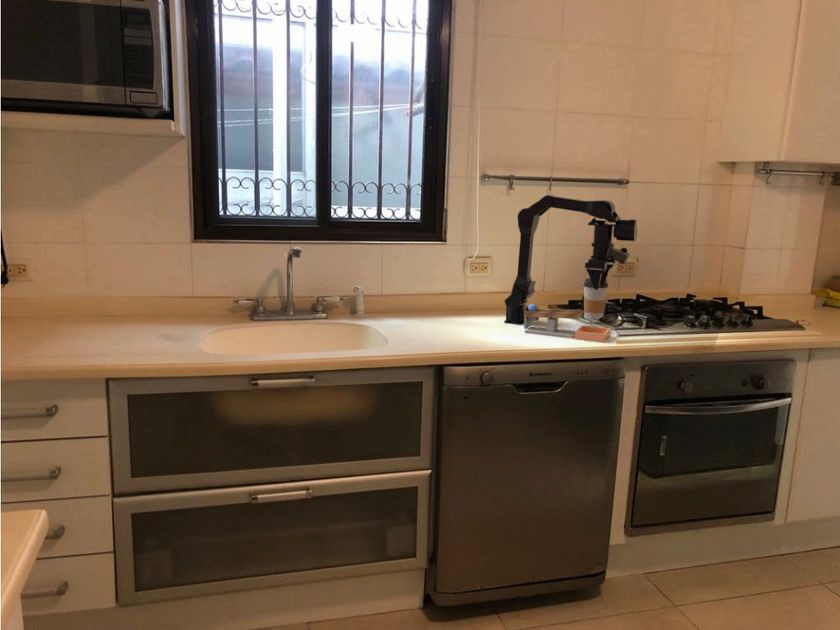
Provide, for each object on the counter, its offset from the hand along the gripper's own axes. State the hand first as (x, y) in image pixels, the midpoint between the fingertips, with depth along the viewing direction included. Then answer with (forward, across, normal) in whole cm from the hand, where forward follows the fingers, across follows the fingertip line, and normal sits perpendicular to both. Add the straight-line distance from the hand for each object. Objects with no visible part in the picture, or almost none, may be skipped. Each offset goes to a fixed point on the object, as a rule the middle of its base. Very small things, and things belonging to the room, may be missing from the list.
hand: (599, 287), depth 215 cm
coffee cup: (+15, +14, +4) cm, 21 cm away
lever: (+11, -8, +12) cm, 18 cm away
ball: (+7, -10, +19) cm, 23 cm away
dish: (+15, -10, -1) cm, 18 cm away
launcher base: (+15, -10, +12) cm, 22 cm away
